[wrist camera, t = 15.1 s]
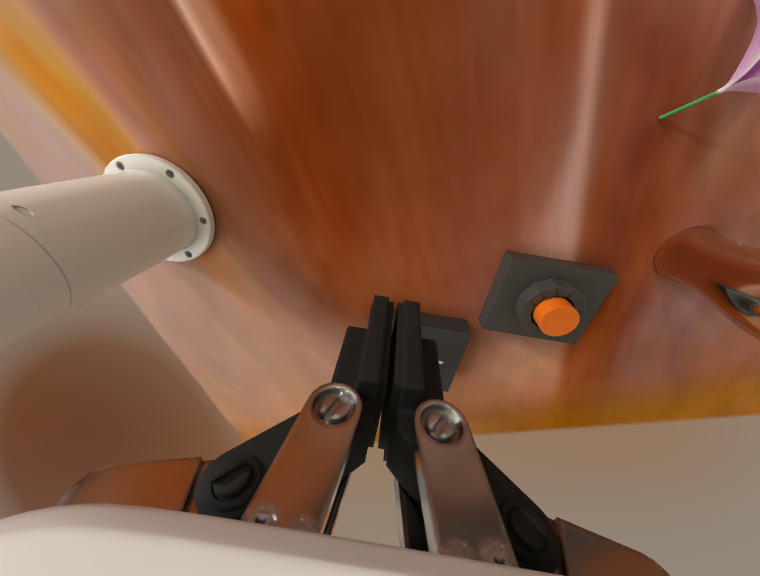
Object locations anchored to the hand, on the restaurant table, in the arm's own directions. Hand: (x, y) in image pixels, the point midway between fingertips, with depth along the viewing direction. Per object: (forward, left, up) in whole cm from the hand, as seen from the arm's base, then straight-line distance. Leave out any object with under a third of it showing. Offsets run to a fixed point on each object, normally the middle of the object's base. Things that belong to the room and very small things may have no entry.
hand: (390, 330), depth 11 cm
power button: (+19, -9, -19) cm, 29 cm away
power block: (+19, -9, -23) cm, 31 cm away
